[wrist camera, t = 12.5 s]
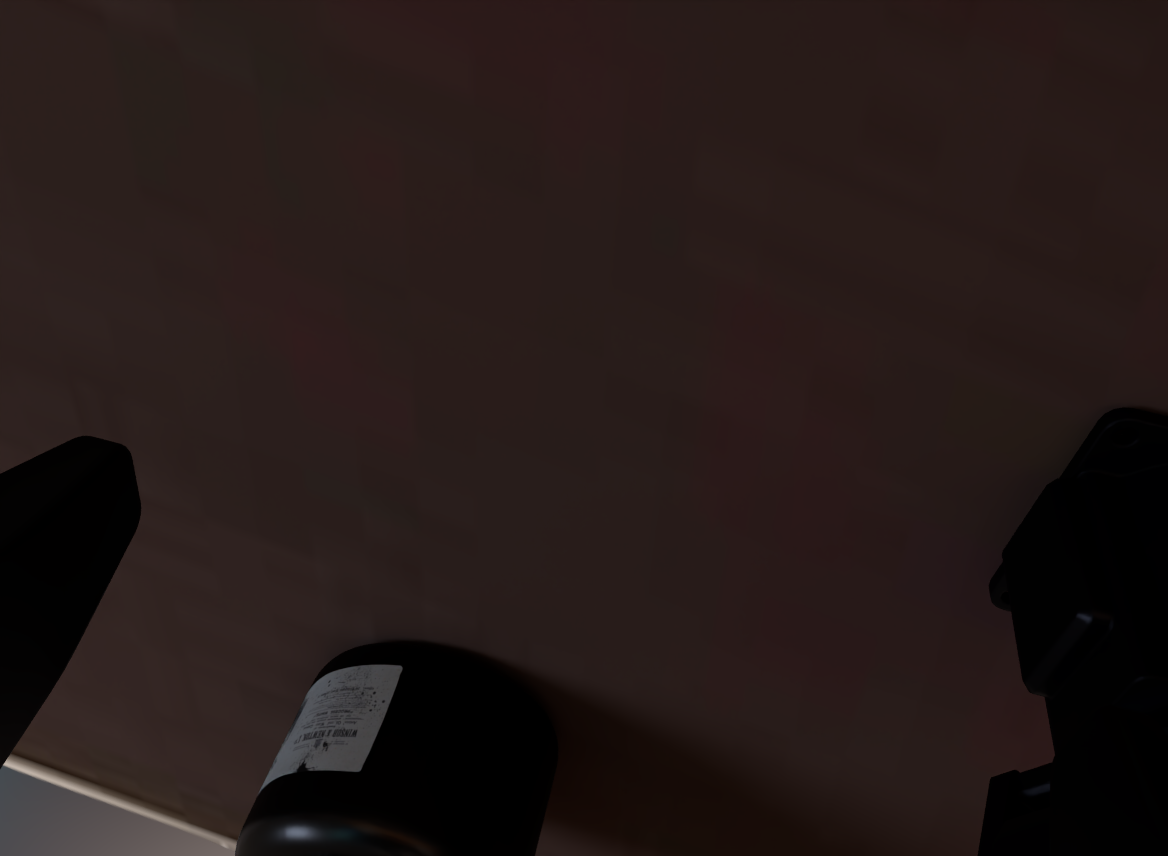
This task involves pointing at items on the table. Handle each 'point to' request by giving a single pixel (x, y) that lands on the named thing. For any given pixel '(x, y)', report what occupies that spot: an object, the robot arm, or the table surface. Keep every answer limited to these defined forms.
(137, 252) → the table surface
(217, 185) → the table surface
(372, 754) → the ink bottle
